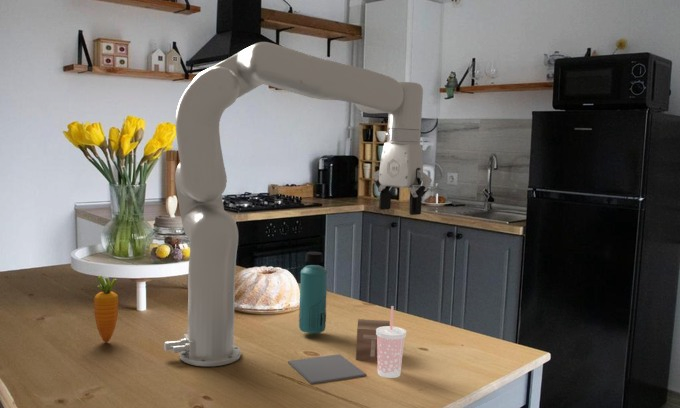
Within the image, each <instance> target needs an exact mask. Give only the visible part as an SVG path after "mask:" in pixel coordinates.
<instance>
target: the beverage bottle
mask: <svg viewBox="0 0 680 408" xmlns="http://www.w3.org/2000/svg"><path fill="white" fill-rule="evenodd" d="M323 255H324V254H323V253H322V252H320V251H308V252H306V253H305V260H304V261H305V262H306V263H311V264H310V265H309V264H308V265H305V266H304V267H303V268H302V269H301V270H300V287H299V289H300V291H299V305H298V307H299V312H298V328H299V330H300V331H301V332H303V333H305V334H306V333H308V334H318V333H319V334H320V333H323V332H325V330H326V325H327V293H328V292H327V288H328V287H327V274H328V271H327V269H325V267H324V266H321V265H319V264H320V263H323V261H324V259H323V258H324V257H323ZM318 263H319V264H318ZM316 264H317V265H316Z"/></svg>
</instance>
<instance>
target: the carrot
mask: <svg viewBox="0 0 680 408" xmlns="http://www.w3.org/2000/svg"><path fill="white" fill-rule="evenodd" d="M97 280H98V282H99V283H100V284H98V285H97V286H96V287H97V288H98V289H99V290H100V291H99V292H98V293H96V294H95V296H94V297H93V306H94V307H93V309H94V317H95V324H96V328H97V331H98V333H99V336H100V337H101V340H102V341H103V342H104V343H105V344H107V343H109V342H110V340H111V338H112V336H113V334H114V332H115V329H116V325H117V320H118V315H119V314H118V313H119V295H118V294H117V293H116V292H114V291H112V290H113V289H114V286H115V284H116V283H117V281H118V279H116V278H113V279H112V281H110V278H109V277H105V278H104V277H103V276H102V275H100V276H99V275H98V277H97Z"/></svg>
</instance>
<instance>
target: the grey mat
mask: <svg viewBox="0 0 680 408" xmlns="http://www.w3.org/2000/svg"><path fill="white" fill-rule="evenodd" d="M287 363H288V364H289V365H290V366H291V368H293V369H294V370H296V372H297V373H298V374H299V375H300V376H302V377H303V378H304V379H305V380H306V381H307V382H308V383H310V385H315V384H323V383H328V382H335V381H341V380H348V379H353V378H354V379H355V378H361V377H366V376H367V373H366V372H364V371H363V370H362V369H361V368H359V367H357V366H356V365H355V364H353V362H351V361H350V360H348V359H347V358H345V357H344V356H343V355H342V354H340V353H339V354H331V355H324V356H317V357H311V358H310V357H309V358H301V359H292V360H288V361H287Z"/></svg>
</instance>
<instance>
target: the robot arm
mask: <svg viewBox="0 0 680 408" xmlns="http://www.w3.org/2000/svg"><path fill="white" fill-rule="evenodd" d="M261 85H266V86H268V87H272V88H273V87H274V88H276V89H280V90H284V91H287V92H291V93H294V94H297V95H301V96H303V97H306V98H307V97H308V98H311V99H316V100H321V101H322V100H323V101H340V102H346V103H351V104H354V105H355V107H356V108H357V109H358V110H359V111H361V112H362V113H365V114H387V115H388V116H387V119H388V120H387V132H385V137H386V142H384V144H383V146H382V150H381V156H380V162H379V169H378V170H377V171H374V172H373V177H374V178H373V179H374V181H375V182H374V183H375V186H376V187H377V192H378V193H379V201H378V203H379V205H378V208H379V210H380V211H383V210H390V209H391V205H392V203H391V201H392V192H390V190H391V189H392V188H400V189H407V188H408V189H409V192H410V194H411V195H412V196H410V198H409V215H410V216H417V215H421V214H422V203H423V202H422V201H423V200H422V199H423V198H424V197H425V195H426V193H427V192H428V191H429V188H430V185H431V183H432V181H433V180H432V179H433V178H431V176H429V175H428V174H426V173H425V172H424V157H423V147H422V144H421V131H422V130H421V129H422V114H423V113H422V111H423V97H424V96H423V95H424V88H423V86H422V85H421V84H420V83H417V82H411V81H397V80H396V79H395V78H393V77H392V76H388V75H385V74H383V73H379V72H376V71H372V70H370V69H366V68H363V67H359V66H358V67H357V66H355V65H349V64H344V63H342V62H338V61H333V60H329V59H324V58H320V57H317V56H315V55H311V54H308V53H304V52H301V51H298V50H295V49H291V48H288V47H285V46H282V45H278V44H275V43H272V42H268V41H259V42H256V43H254V44H251V45H250V46H248V47H246V48H244V49H242V50H240V51H238V52H237V53H235V54H233V55H232V56H230V57H228V58H226V59H224V60H222V61H220V62H218V63H216V64H214V65H213V66H210V67H208V68H206V69H204V70H202V71H200V72H199V73H197V75H196V76H194V78H193V79H192V81H191V82H190V84H189V85H188V86H187V87H186V89H185V90H184V92H183V94H182V95H181V98H180V99H179V102H178V104H177V107H176V108H177V109H176V113H175V134H176V135H175V136H176V142H177V151H178V159H179V163H178V165H177V167H176V169H175V174H174V175H175V176H174V181H175V189H176V194H177V200H178V201H177V202H178V208H179V215H180V218H181V223H182V228H183V231H184V233H185V236H186V238H187V239H188V240H189V244H190V245H189V260H188V277H187V279H188V281H187V282H188V283H187V284H188V287H187V288H188V289H187V290H188V291H187V292H188V294H187V300H188V301H187V333H184V334H183V338H179V340H169V341H168V340H167V341H164V342H163V347H164V348H163V349H164V351H165V352H168V351H169V352H170V351H172V353H173V354H176V353H177V354H178V353H179V359H180V360H181V361H182V362H183V363H186V364H189V365H191V366H196V367H221V366H225V365H229V364H233V363H235V362H236V361H238V360H239V359H240V358H241V356H242V354H241V352H242V351H241V348H240V347H239V346H237V345H236V344H235V343H234V338H235V337H234V336H235V332H234V331H235V295H236V294H235V293H236V292H235V291H236V262H237V261H236V260H237V254H238V253H237V251H238V248H239V247H238V246H239V229H238V224H237V223H236V221H235V219H234V217H233V216H232V215H231V214H230V213H229V212H227V211H226V210H225V206H224V200H223V194H224V192H225V190H226V187H227V182H228V181H227V179H228V178H227V172H226V167H225V163H224V158H223V150H222V146H221V135H220V122H221V118H222V115H223V113H224V112H225V111H226V109H227V108H229V107H231V106H232V105H233V104H234V103H235V102H236V100H237V99H239V98H240V97H242V96H245V94H247V93H250V92H251V91H253V90H255V89H256V88H258V87H260V86H261Z"/></svg>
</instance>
